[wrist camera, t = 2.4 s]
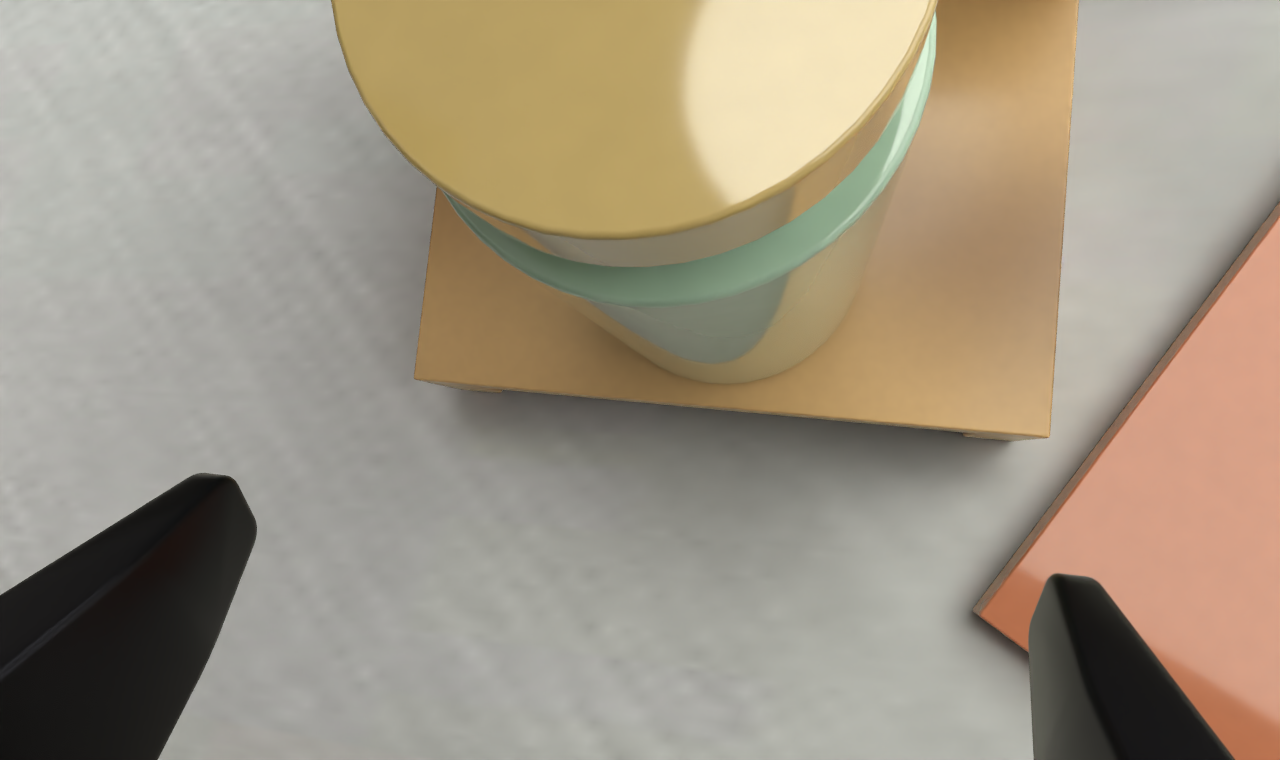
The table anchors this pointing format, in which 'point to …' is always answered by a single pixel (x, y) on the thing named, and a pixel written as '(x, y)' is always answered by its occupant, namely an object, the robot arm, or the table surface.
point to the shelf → (891, 285)
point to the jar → (662, 153)
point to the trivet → (1186, 511)
